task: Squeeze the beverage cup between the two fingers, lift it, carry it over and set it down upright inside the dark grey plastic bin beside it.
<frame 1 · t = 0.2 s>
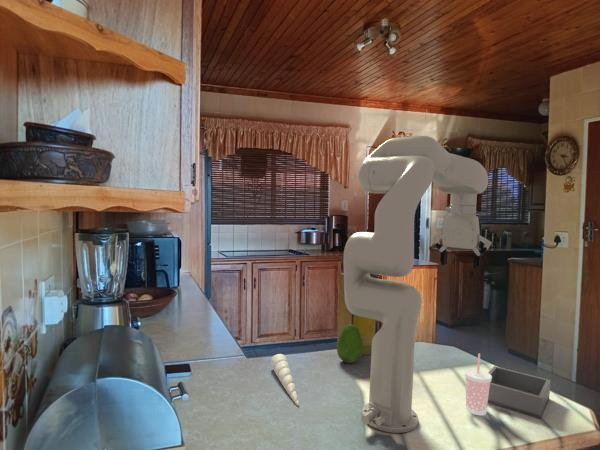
hand: (459, 266, 127), 31 cm above the table, tool pointing down, fingers open, 9 cm apart
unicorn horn: (287, 385, 110), on the table
avocado: (349, 362, 127), on the table
beverage cup: (475, 411, 99), on the table
food packaging: (355, 348, 140), on the table
bin: (514, 399, 106), on the table
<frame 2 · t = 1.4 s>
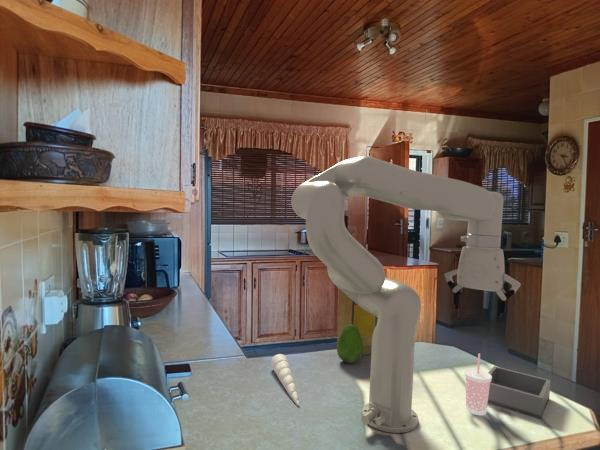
hand: (478, 311, 100), 24 cm above the table, tool pointing down, fingers open, 9 cm apart
nothing on the table moved.
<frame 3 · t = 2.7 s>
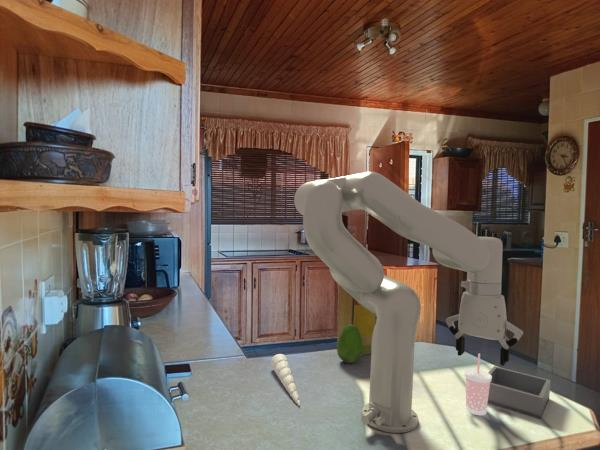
hand: (481, 358, 99), 13 cm above the table, tool pointing down, fingers open, 9 cm apart
nothing on the table moved.
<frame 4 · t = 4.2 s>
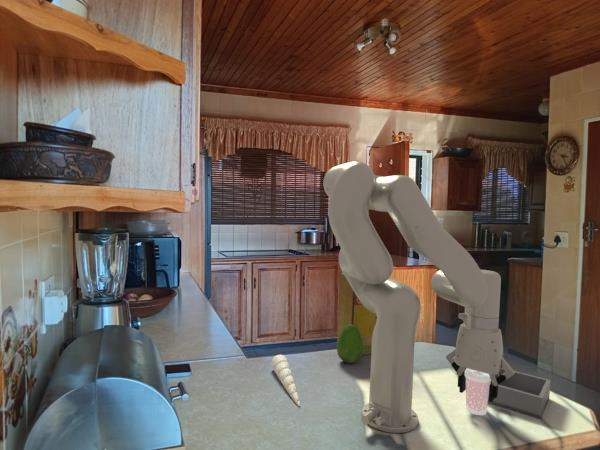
hand: (477, 394, 99), 4 cm above the table, tool pointing down, fingers closed on beverage cup, 6 cm apart
beverage cup: (476, 411, 99), on the table, touching gripper
everything else where it was.
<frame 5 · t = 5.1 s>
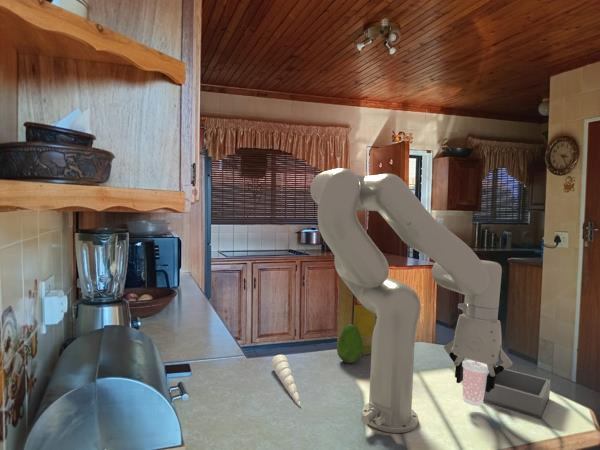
hand: (473, 385, 99), 6 cm above the table, tool pointing down, fingers closed on beverage cup, 6 cm apart
beverage cup: (472, 402, 99), point 2 cm above the table, touching gripper
everything else where it was.
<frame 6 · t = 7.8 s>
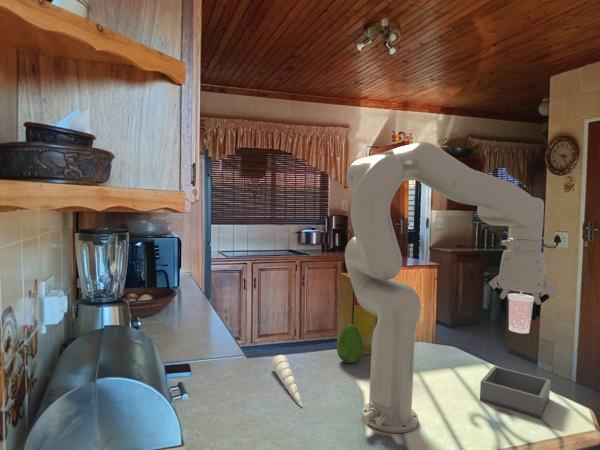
hand: (519, 315, 105), 22 cm above the table, tool pointing down, fingers closed on beverage cup, 6 cm apart
beverage cup: (518, 331, 105), point 18 cm above the table, touching gripper
everything else where it was.
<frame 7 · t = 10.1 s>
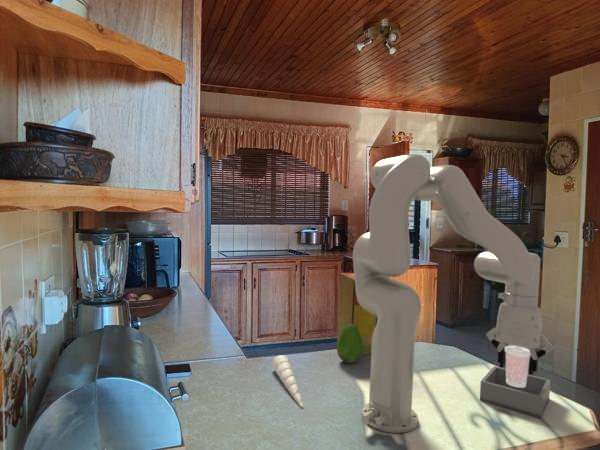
hand: (516, 369, 105), 8 cm above the table, tool pointing down, fingers closed on beverage cup, 6 cm apart
beverage cup: (515, 384, 106), point 4 cm above the table, touching gripper
when the fingers open (7 cm above the table, at t = 11.3 s): beverage cup drops 2 cm, resting on bin.
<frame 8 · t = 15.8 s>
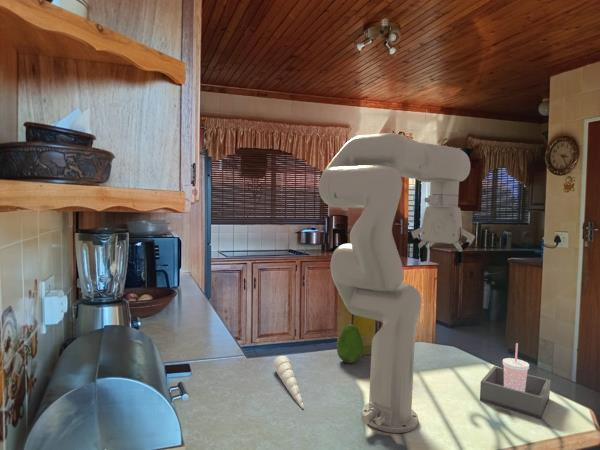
hand: (440, 263, 114), 33 cm above the table, tool pointing down, fingers open, 9 cm apart
beverage cup: (513, 397, 106), point 1 cm above the table, touching bin
at the end: beverage cup inside the target area on the bin (0.4 cm from its centre), point 0.6 cm above the bin's base; beverage cup tilted 0°; the gripper is holding nothing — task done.
